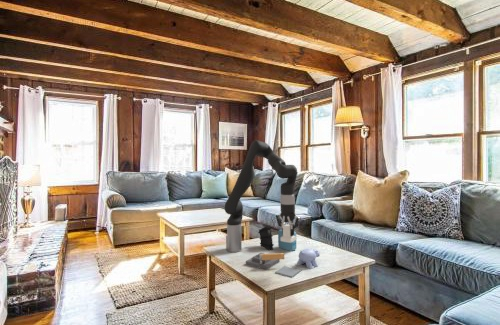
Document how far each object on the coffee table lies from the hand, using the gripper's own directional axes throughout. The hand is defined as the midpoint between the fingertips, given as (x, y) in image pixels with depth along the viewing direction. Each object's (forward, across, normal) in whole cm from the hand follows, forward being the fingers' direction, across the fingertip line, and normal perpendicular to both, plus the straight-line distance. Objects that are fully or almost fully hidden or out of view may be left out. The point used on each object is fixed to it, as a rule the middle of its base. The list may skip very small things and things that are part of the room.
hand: (288, 235), depth 153 cm
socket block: (+19, -18, +3) cm, 27 cm away
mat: (+20, 0, 0) cm, 20 cm away
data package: (+20, -19, +34) cm, 44 cm away
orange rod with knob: (+15, -11, +1) cm, 19 cm away
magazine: (+20, -32, +28) cm, 47 cm away
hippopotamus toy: (+20, +4, +17) cm, 26 cm away
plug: (+3, 0, 0) cm, 3 cm away
